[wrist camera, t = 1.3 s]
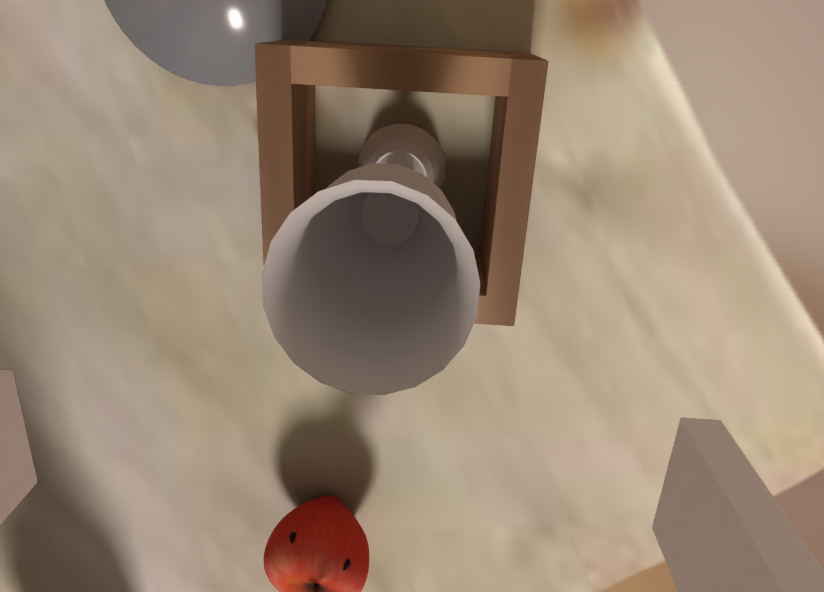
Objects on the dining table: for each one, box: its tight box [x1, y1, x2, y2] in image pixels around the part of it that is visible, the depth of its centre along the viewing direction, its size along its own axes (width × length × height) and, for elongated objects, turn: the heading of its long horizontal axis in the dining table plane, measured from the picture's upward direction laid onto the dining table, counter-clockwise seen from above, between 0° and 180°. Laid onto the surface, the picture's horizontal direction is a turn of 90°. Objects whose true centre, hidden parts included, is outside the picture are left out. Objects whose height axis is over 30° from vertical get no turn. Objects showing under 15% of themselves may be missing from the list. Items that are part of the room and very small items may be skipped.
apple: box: [264, 495, 369, 592], centre depth 42 cm, size 8×7×10 cm
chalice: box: [262, 123, 480, 395], centre depth 28 cm, size 7×7×18 cm
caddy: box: [254, 40, 548, 326], centre depth 34 cm, size 13×13×6 cm
